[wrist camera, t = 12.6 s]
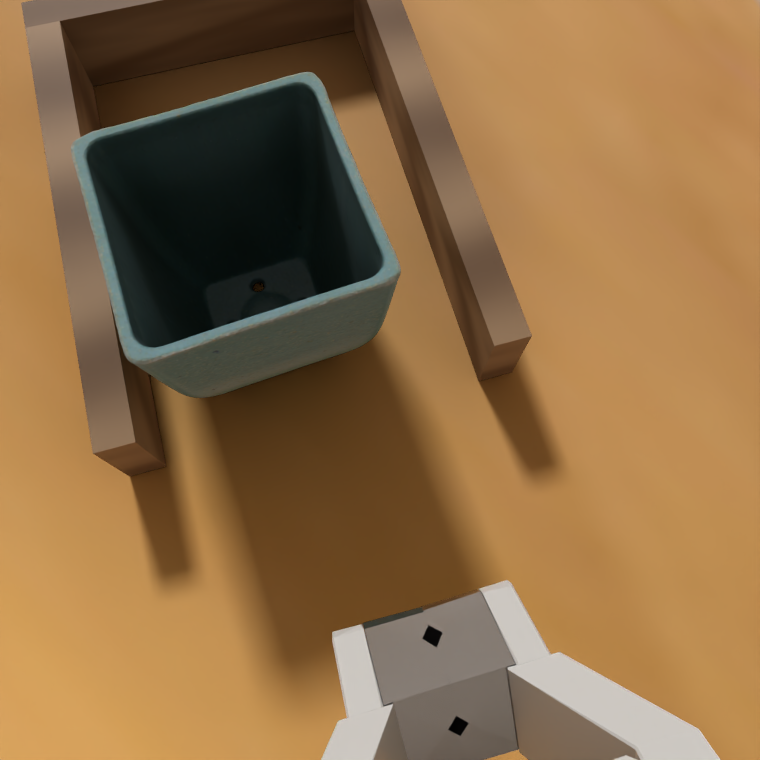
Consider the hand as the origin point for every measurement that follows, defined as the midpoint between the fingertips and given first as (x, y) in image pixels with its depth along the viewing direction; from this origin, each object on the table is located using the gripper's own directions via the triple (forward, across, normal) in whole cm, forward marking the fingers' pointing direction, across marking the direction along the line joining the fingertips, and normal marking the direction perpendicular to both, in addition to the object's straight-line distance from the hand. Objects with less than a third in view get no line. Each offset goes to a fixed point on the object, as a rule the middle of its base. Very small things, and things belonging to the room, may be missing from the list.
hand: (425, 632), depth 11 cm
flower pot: (+21, -2, -2) cm, 22 cm away
